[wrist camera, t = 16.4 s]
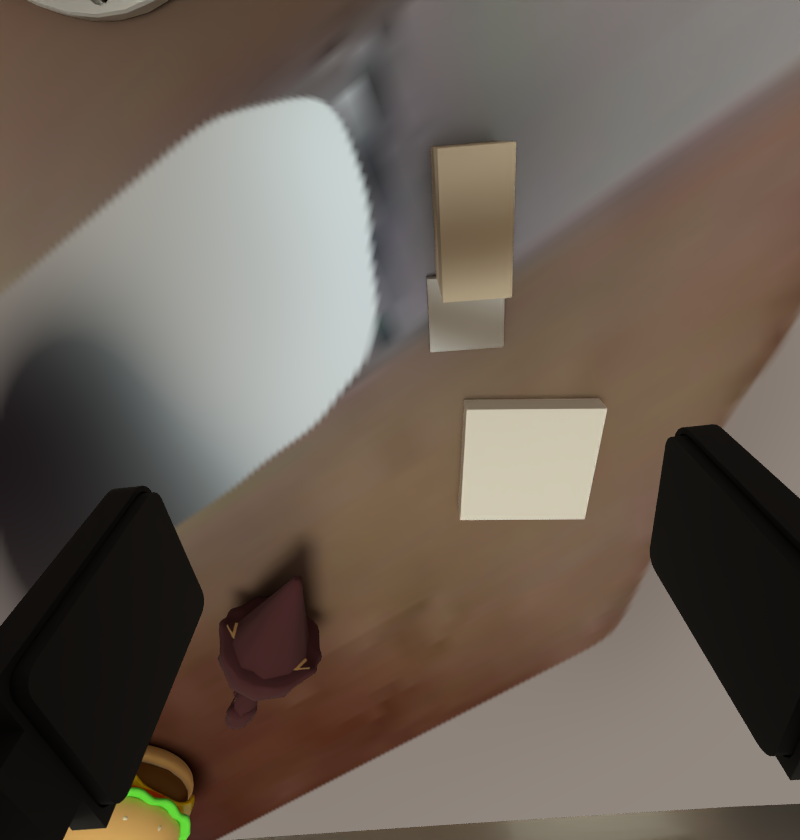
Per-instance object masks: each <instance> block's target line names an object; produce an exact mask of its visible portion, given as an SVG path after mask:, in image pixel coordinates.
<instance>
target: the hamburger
mask: <svg viewBox="0 0 800 840" xmlns="http://www.w3.org/2000/svg"><path fill="white" fill-rule="evenodd" d="M193 787H194V783H193V775H192V773H191V770H190V768H189V767H188V766H187V764H186V763H185V762H184V761H183V760H182V759H181V758H179V757H178V756H176V755H175V754H173V753H171V752H169V751H167V750H164V749H161V748H158V747H154V746H150V745H148V747H147V749H146V752H145V754H144V757H143V759H142V761H141V764H140V766H139V769H138V771H137V774H136V776H135V779H134V781H133V784H132V786H131V789H130V791H129V793H128V795H127V796H126V798H125V799H124V800H123V801H122V802H121V803H119V804H116V806H115V809H114V811H113V813H112V816H111V818H110V821H109V823H108V825H107V828H101V829H87V830H73V831H72V830H71V829H70V827H69V828H68V830H67V832H66V835H65V837H64V839H63V840H186V839H187V838H188V836H189V835H190V818H189V815H190V813H191V811H192V808H193V805H194V799H195V796H194V794H193V795H191V794H192V792H193ZM190 796H191V797H190ZM188 799H189V800H188Z"/></svg>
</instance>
